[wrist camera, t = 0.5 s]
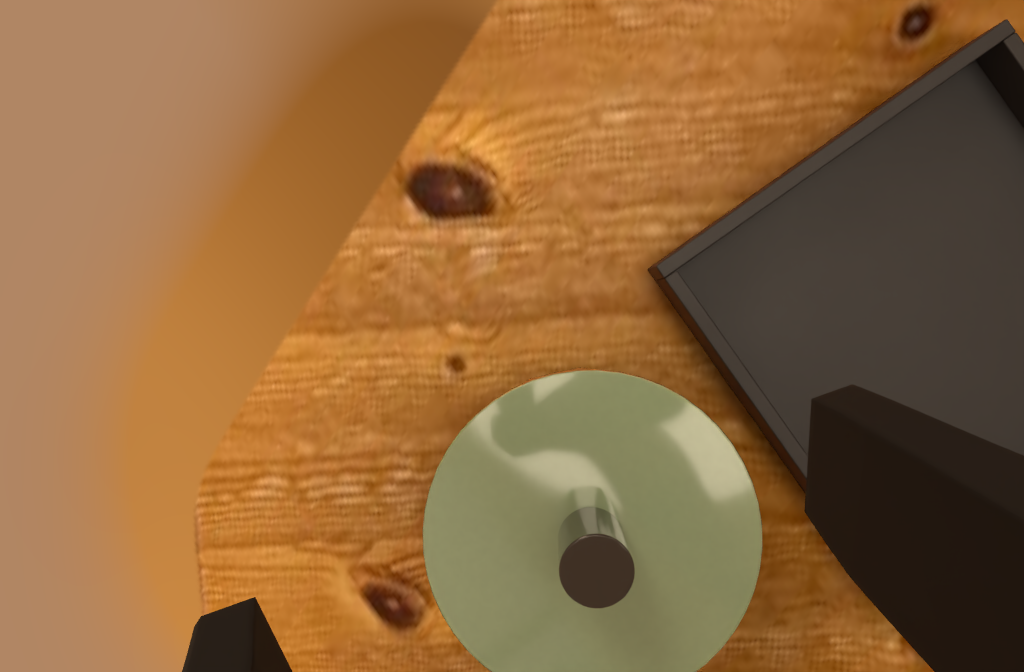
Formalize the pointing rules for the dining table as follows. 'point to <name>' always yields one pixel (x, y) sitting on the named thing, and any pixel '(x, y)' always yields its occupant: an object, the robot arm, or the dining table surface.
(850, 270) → the tray
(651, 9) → the dining table surface
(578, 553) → the lid
